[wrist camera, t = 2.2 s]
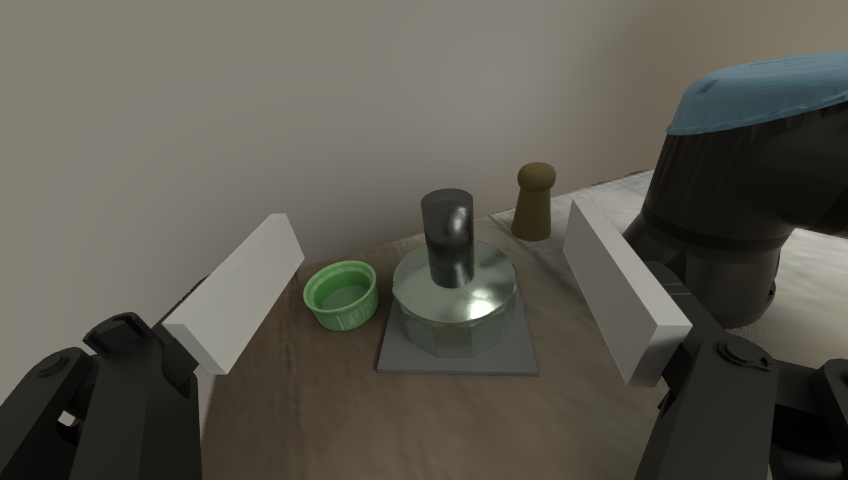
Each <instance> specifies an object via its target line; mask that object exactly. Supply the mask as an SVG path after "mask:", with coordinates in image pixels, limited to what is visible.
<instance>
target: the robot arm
mask: <svg viewBox="0 0 848 480" xmlns="http://www.w3.org/2000/svg"><path fill="white" fill-rule="evenodd" d="M666 132H667V136H666V139H665V142H664V145H663V148H662V151H661V154H660V157H659V160H658V163H657V166H656V169H655V171H654V174H653V177H652V180H651V183H650V186H649V189H648V192H647V195H646V198H645V200H644V203H643V206H642V209H641V212H640V213H639V215H638V216H637V217H636V218H635V219H634V221H633V222H632V223H631V224H630V225H629V227H628V228H627V229H626V230H625V232H624V233H623V234H622V235H621V234H620V233H619V231H618V230H617V229H616V228H615V226H614V225H613V224H612V223H611V221H610V220H609V219H608V218H607V216H606V215H605V214H604V212H603V211H602V210H601V209H600V207H599V206H598V205H597V204H596V202H595V201H594V200H593V199H592V198H578V199H572V205H571V210H570V215H569V220H568V225H567V230H566V235H565V240H564V245H563V250H562V251H563V253H564V255H565V257H566V259H567V261H568V263H569V265H570V268H571V270H572V272H573V274H574V276H575V278H576V280H577V282H578V285H579V287H580V289H581V291H582V293H583V295H584V297H585V299H586V302H587V304H588V306H589V308H590V310H591V312H592V314H593V316H594V319H595V321H596V323H597V325H598V327H599V329H600V331H601V333H602V335H603V338H604V340H605V342H606V344H607V346H608V348H609V350H610V352H611V355H612V357H613V359H614V361H615V363H616V365H617V367H618V369H619V372H620V374H621V376H622V378H623V380H624V382H625V384H626V386H634V387H655V386H656V384H657V383H658V381H659V380H660V378H661V376H663V378H664V380H665V381H666V383H667V385H668V386H669V388H670V389H669V391H668V392H667V394H666V395H665V397H664V398H663V400H662V401H661V403H660V404H659V406H658V407H657V408H658V409H660V412H659V415H658V417H657V420H656V423H655V425H654V428H653V431H652V433H651V436H650V439H649V441H648V444H647V447H646V449H645V452H644V454H643V457H642V460H641V462H640V465H639V468H638V470H637V473H636V476H635V478H634V480H767V472H768V463H769V465H770V469H771V473H772V477H773V480H848V360H847V359H830V360H828V361H827V362H826V363H825V364H824V365H823V366H821V367H820V368H819V369H813V368H809V367H805V366H801V365H797V364H792V363H788V362H784V361H780V360H776V359H772V357H771V356H770V355H769V354H768V353H767V352H766V351H764V350H763V349H762V348H760V347H759V346H758V345H756V344H754V343H752V342H750V341H749V340H747V339H745V338H743V337H739V336H736V335H733V334H729V333H727V332H726V331H725V330H724V329H731V328H738V327H743V326H746V325H749V324H751V323H753V322H755V321H756V320H758V319H759V318H760V317H761V316H762V314H763V313H764V312H765V311H766V309H767V308H768V307H769V306H770V304H771V303H772V301H773V299H774V296H775V291H776V285H775V281H774V280H775V277H776V275H777V271H778V266H779V259H780V251H781V248H782V246H783V244H784V243H785V241H786V240H787V239H788V237H789V236H790V234H791V233H792V231H793V230H794V229H795V228H800V229H805V230H809V231H813V232H818V233H822V234H826V235H831V236H836V237H840V238H844V239H848V51H838V52H827V53H817V54H808V55H800V56H792V57H785V58H778V59H771V60H765V61H759V62H753V63H748V64H743V65H738V66H734V67H729V68H725V69H722V70H718V71H715V72H712V73H709V74H707V75H705V76H703V77H701V78H699V79H698V80H696V81H695V82H693V83H692V84H691V85H690V86H689V87H688V88H687V90H686V91H685V93H684V94H683V96H682V99H681V101H680V103H679V106H678V108H677V111H676V113H675V115H674V117H673V120H672V122H671V124H670V125H669V126H668V127H667V130H666ZM303 259H304V255H303V253H302V251H301V248H300V246H299V243H298V241H297V239H296V237H295V234H294V232H293V229H292V227H291V225H290V223H289V220H288V218H287V215H286V214H285V213H282V214H271V215H270V216H269V217H268V218H267V219H266V220H265V221H264V222H263V223H262V224H261V225H260V226H259V227H258V228H257V229H256V230H255V231H254V232H253V233H252V234H251V235H250V236H249V237H248V238H247V239H246V240H245V241H244V242H243V243H242V244H241V245H240V246H239V247H238V248H237V249H236V250H235V251H234V252H233V253H232V254H231V255H230V256H229V257H228V258H227V259H226V260H225V261H224V262H223V263H222V264H221V265H220V266H219V267H218V268H217V269H216V270H215V271H214V272H213V273H211V274H209V275H208V276H207V277H205V278H203V279H202V280H200V281H199V282H198V283H197V284H196V285H195V286H194V287H193V288H192V289H191V290H190V292H188V293H187V294H186V295H185V296H184V297H183V298H182V300H180V301H179V302H178V303H177V304H176V305H175V306H174V307H173V308H172V309H171V310H170V311H169V312H168V313H167V314H166V315H165V316H164V317H163V318H162V319H161V320H160V321H159V322H158V323H157V324H156V325H154V326H153V327H152V329H150V328H149V327H148V326H147V325H146V323H145V322H144V321H143V320H142V319H141V318H140V317H139V316H138V315H137V314H135V313H133V312H129V313H128V312H127V313H122V314H119V315H116V316H113V317H111V318H109V319H107V320H105V321H103V322H101V323H100V324H99V325H97V326H95V327H94V328H93V329H92V330H91V331H90V332H88V333H87V334H86V336H85V337H84V339H83V340H82V341H83V342H84V343H85V344H86V345H88V346H89V347H90V348H91V349H93V350H94V351H95V352H96V353H97V354H95V355H91V356H89V355H88V354H87V353H86V352H84V351H83V350H82V349H81V348H78V347H72V348H67V349H64V350H61V351H59V352H56V353H53V354H51V355H50V356H48V357H46V358H44V359H43V360H42V361H41V362H40V363H38V364H37V365H35V366H34V367H33V368H32V369H31V370H30V371H29V372H28V373H27V374H26V375H25V377H24V378H23V379H22V380H21V381H20V383H19V384H18V385H17V386H16V388H15V389H14V390H13V391H12V393H11V394H10V395H9V396H8V398H7V399H6V400H5V401H4V403H3V404H2V405H1V406H0V480H202V470H201V448H200V426H199V404H198V382H197V377H196V375H195V374H194V373H193V371H194V370H195V369H196V367H197V366H198V365H200V366H201V367H202V368H203V369H204V370H205V371H206V372H207V374H224V375H227V374H228V372H229V371H230V369H231V368H232V366H233V365H234V363H235V362H236V360H237V359H238V357H239V356H240V354H241V353H242V351H243V350H244V348H245V347H246V345H247V344H248V342H249V341H250V339H251V338H252V336H253V335H254V333H255V332H256V330H257V329H258V327H259V326H260V324H261V323H262V321H263V320H264V318H265V317H266V315H267V314H268V312H269V311H270V309H271V308H272V306H273V305H274V303H275V302H276V300H277V299H278V297H279V296H280V294H281V293H282V291H283V290H284V288H285V287H286V285H287V284H288V282H289V281H290V279H291V278H292V276H293V275H294V273H295V272H296V270H297V269H298V267H299V266H300V264H301V263H302V261H303ZM63 411H66V412H67V413H69V414H71V415H72V416H74V417H75V420H74V422H73V423H72V424H71V425H70V426H66V425H64V424H62V423H61V422H59V421H58V419H59V417H60V416H61V414H62V412H63Z"/></svg>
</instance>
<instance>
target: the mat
mask: <svg viewBox="0 0 848 480" xmlns="http://www.w3.org/2000/svg"><path fill="white" fill-rule="evenodd" d="M512 266H513V269H514V272H515V268H514V264H512ZM515 284H516V288H517V289H516V301H515V312H514V321H513V323H512V325H511V326H510V328H509V330H508V332H507V334H506V335H505V337H504V339H503V341H502V343H501V344H499V345H497V346H495V347H493V348H491V349H489V350H487V351H486V352H484V353H482V354H480V355H478V356H476V357H474V358H437V357H435V356H434V355H432V354H430V353H428V352H427V351H425V350H423V349H421V348H419V347H418V346H416V345H414V344H412V343H411V342H410V340H409V338H408V336H407V334H406V332H405V330H404V328H403V326H402V324H401V322H400V320H399V316H398V312H397V308H396V304H395V299H394V298H393V303H392V307H391V311H390V315H389V320H388V324H387V328H386V332H385V336H384V341H383V345H382V349H381V353H380V358H379V362H378V366H377V371H378V372H390V373H431V374H472V375H513V376H538V374H539V372H538V368H537V363H536V359H535V355H534V350H533V346H532V341H531V337H530V333H529V328H528V324H527V320H526V315H525V311H524V307H523V302H522V298H521V294H520V289H519V285H518V281H517V276H516V272H515Z"/></svg>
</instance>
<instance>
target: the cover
mask: <svg viewBox="0 0 848 480" xmlns="http://www.w3.org/2000/svg"><path fill="white" fill-rule="evenodd" d="M421 208H422V215H423V223H424V230H425V238H426V244H424V245H422V246H420V247H418V248H416V249H414V250H413V251H411V252H410V253H408V254H407V255H406V256H405V257H404V258H403V259H402V260H401V261H400V263H399V264H398V266H397V268H396V270H395V272H394V276H393V290H392V291H393V295H394V299H395V304H396V308H397V312H398V316H399V320H400V322H401V324H402V326H403V328H404V330H405V332H406V334H407V336H408V338H409V340H410V342H411V343H412V344H414V345H416V346H418V347H419V348H421V349H423V350H425V351H427V352H428V353H430V354H432V355H434V356H435V357H437V358H474V357H476V356H478V355H480V354H482V353H484V352H486V351H487V350H489V349H491V348H493V347H495V346H497V345H499V344H501V343H502V341H503V339H504V337H505V335H506V334H507V332H508V330H509V328H510V326H511V325H512V323H513V321H514V312H515V301H516V289H517V288H516V284H515V272H514V269H513V266H512V264H511V262H510V261H509V259H508V258H507V257H506V256H505V255H504V254H503V253H502V252H501V251H499V250H498V249H497V248H495V247H493V246H491V245H489V244H487V243H484V242H481V241H477V240H474V229H473V197H472V195H470V194H469V193H468V192H466V191H464V190H460V189H441V190H437V191H433V192H431V193H429V194H427V195H426V196H424V197H423V199H422V200H421Z"/></svg>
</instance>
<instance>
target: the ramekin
mask: <svg viewBox="0 0 848 480" xmlns="http://www.w3.org/2000/svg"><path fill="white" fill-rule="evenodd" d="M303 298H304V302H305V304H306V305H307V306H308V308H309V309H310V310H312V312H313V313H314V315H315V316H316V318H317V320H318V321H319V322H320V324H321V325H322V326H323V327H325V328H327V329H329V330H333V331H346V330H350V329H353V328H356V327H358V326H360V325H362V324H363V323H365V322H366V321H367V320H368V319H369V318H370V317H371V316H372V315H373V314H374V312H375V311H376V309H377V306H378V292H377V286H376V274H375V271H374V270H373V268H372V267H371V266H370V265H368V264H366V263H364V262H360V261H343V262H338V263H335V264H332V265H329V266H327V267H325V268H323V269H322V270H320V271H319V272H317V273H316V274H315V275H314V276H313V277H312V278H311V279H310V280H309V281H308V283H307V284H306V286H305V288H304V291H303Z"/></svg>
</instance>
